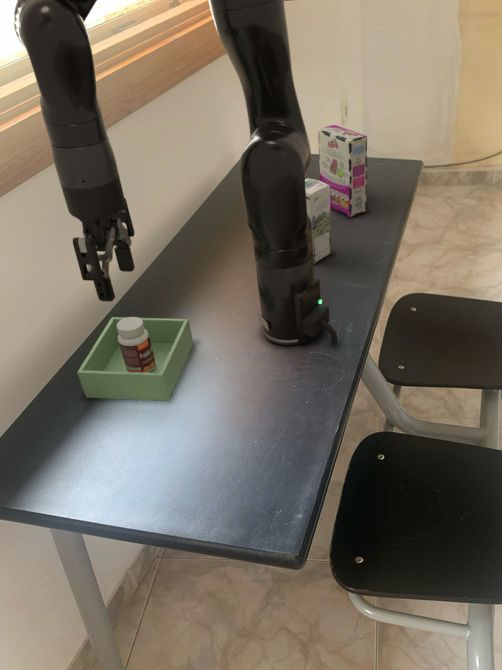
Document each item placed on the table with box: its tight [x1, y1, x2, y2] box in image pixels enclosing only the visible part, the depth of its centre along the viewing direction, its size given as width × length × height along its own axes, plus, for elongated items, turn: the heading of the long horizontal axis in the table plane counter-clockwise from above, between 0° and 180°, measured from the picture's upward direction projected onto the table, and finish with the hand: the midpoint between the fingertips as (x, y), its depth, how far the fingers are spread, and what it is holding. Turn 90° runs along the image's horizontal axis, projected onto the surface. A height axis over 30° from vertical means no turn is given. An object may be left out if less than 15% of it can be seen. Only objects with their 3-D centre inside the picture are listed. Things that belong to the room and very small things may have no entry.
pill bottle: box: [117, 316, 156, 373], centre depth 104 cm, size 5×5×8 cm
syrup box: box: [305, 178, 332, 265], centre depth 128 cm, size 6×6×14 cm
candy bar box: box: [317, 124, 368, 218], centre depth 144 cm, size 11×5×16 cm, turn 37°
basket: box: [76, 316, 194, 402], centre depth 105 cm, size 13×15×5 cm
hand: (117, 284), depth 97 cm, fingers open, 8 cm apart
